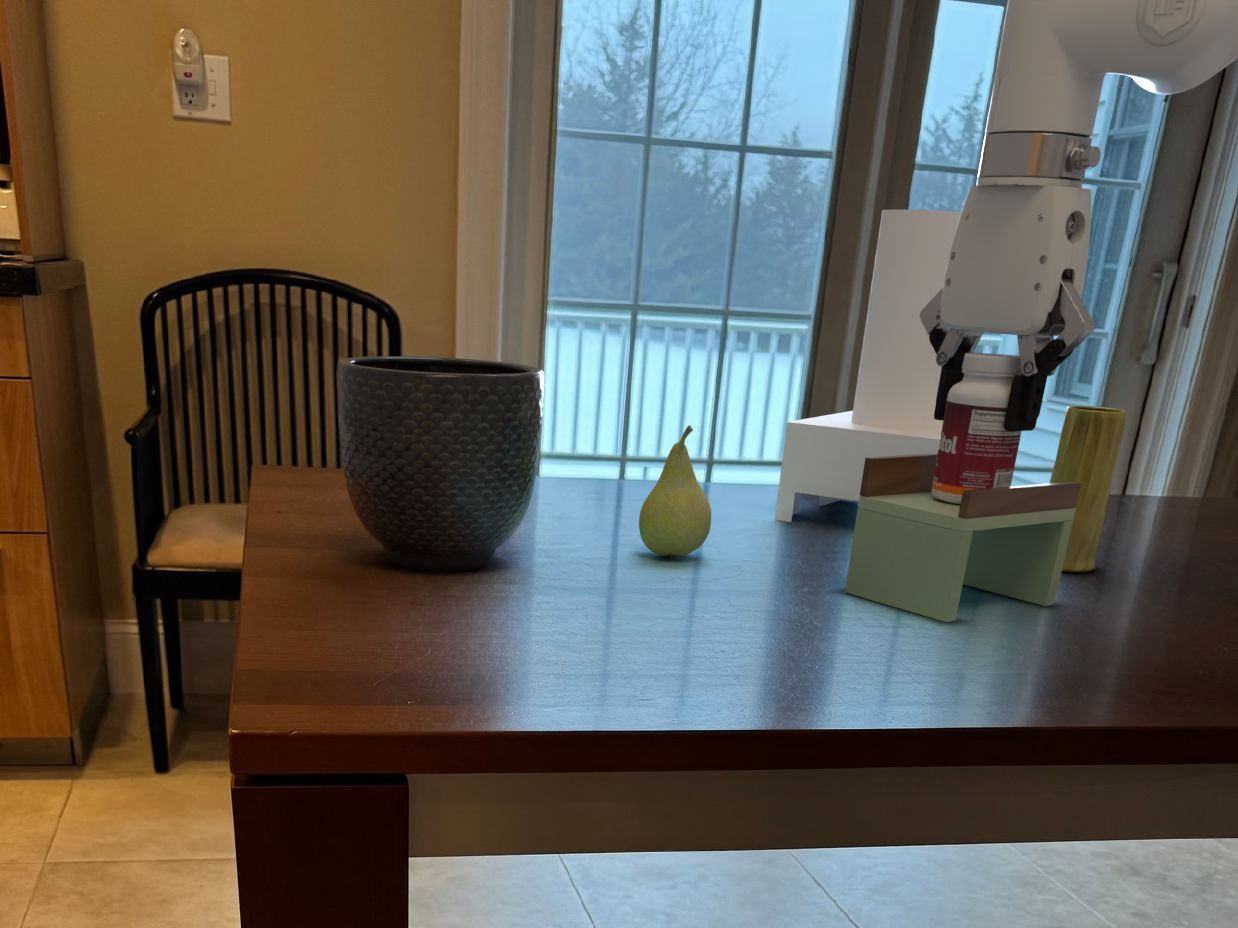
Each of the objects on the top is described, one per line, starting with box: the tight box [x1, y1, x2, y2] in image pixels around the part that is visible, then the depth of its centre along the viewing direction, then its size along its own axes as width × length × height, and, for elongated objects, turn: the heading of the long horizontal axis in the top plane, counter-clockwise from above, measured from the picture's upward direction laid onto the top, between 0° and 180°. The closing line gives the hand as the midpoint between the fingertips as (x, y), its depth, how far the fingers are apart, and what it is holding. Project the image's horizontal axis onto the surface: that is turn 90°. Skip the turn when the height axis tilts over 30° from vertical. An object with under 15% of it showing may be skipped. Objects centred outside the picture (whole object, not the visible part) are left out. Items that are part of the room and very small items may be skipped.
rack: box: [844, 453, 1082, 623], centre depth 108 cm, size 11×14×11 cm
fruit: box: [638, 424, 712, 559], centre depth 117 cm, size 7×8×12 cm
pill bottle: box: [932, 352, 1023, 504], centre depth 104 cm, size 6×6×11 cm
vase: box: [1049, 405, 1128, 574], centre depth 122 cm, size 6×6×14 cm
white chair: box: [774, 209, 962, 523], centre depth 136 cm, size 19×19×30 cm
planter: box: [336, 355, 546, 572], centre depth 110 cm, size 17×17×16 cm
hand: (983, 422), depth 104 cm, fingers closed on pill bottle, 6 cm apart
